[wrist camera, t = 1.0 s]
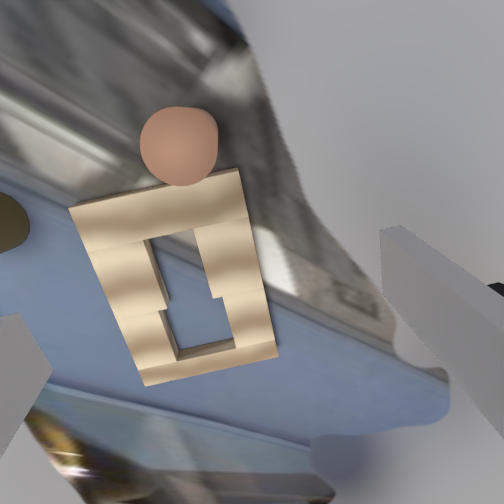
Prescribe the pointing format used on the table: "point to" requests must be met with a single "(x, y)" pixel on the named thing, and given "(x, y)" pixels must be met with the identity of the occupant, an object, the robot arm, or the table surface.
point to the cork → (12, 223)
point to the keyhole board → (151, 282)
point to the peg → (180, 145)
